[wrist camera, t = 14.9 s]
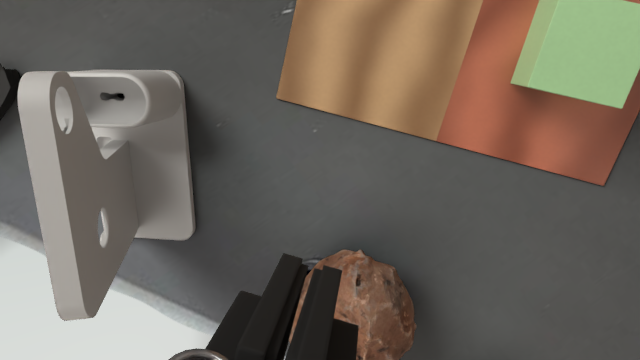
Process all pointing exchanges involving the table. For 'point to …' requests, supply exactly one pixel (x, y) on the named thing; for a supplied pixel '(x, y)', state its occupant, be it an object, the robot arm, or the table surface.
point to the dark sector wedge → (7, 88)
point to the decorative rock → (370, 305)
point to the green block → (582, 50)
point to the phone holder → (104, 172)
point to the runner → (448, 81)
